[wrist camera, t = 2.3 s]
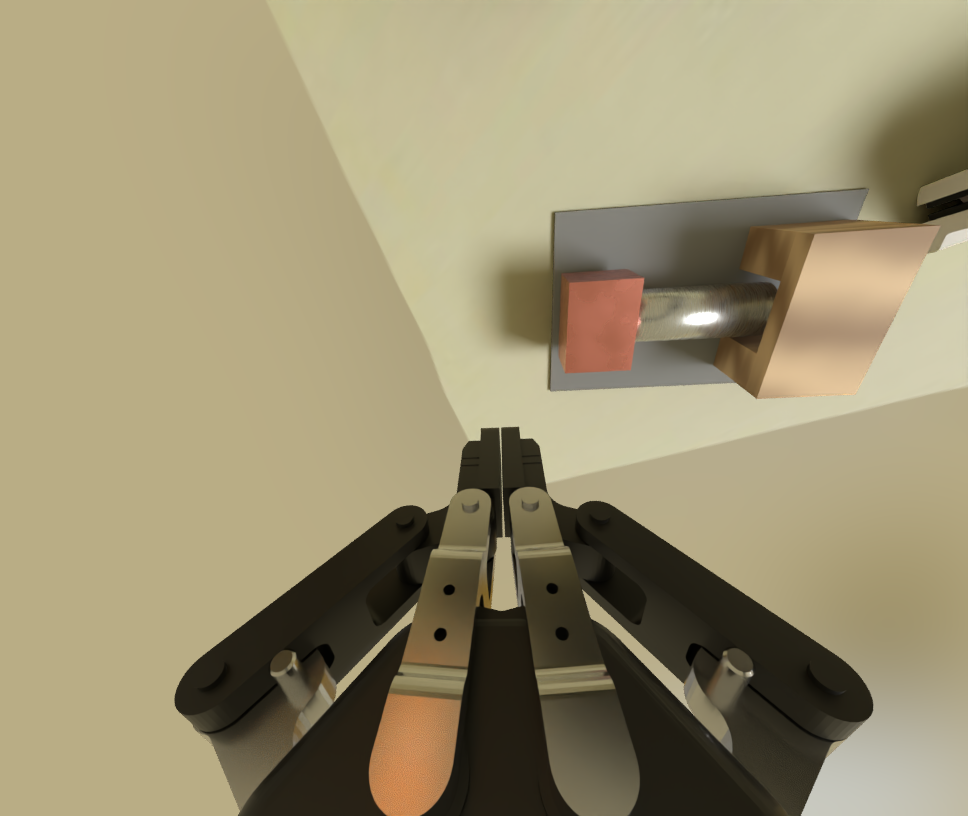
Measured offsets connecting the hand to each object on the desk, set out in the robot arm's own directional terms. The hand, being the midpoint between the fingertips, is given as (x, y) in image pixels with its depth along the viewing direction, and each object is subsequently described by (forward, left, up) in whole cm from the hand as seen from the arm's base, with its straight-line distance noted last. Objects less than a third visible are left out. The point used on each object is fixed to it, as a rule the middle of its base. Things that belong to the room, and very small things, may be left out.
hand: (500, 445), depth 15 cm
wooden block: (0, +23, -19) cm, 29 cm away
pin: (0, +13, -18) cm, 22 cm away
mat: (0, +16, -19) cm, 25 cm away
